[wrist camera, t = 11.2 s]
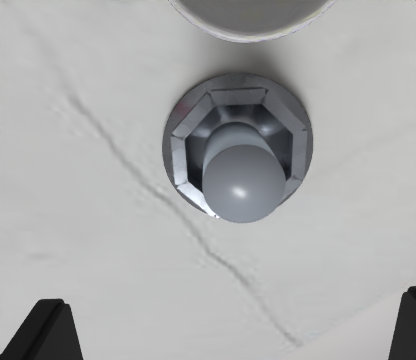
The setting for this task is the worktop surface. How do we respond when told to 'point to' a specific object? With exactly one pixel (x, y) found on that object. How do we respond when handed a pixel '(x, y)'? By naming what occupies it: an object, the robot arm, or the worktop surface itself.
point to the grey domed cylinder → (241, 174)
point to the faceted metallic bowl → (241, 112)
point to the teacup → (251, 17)
